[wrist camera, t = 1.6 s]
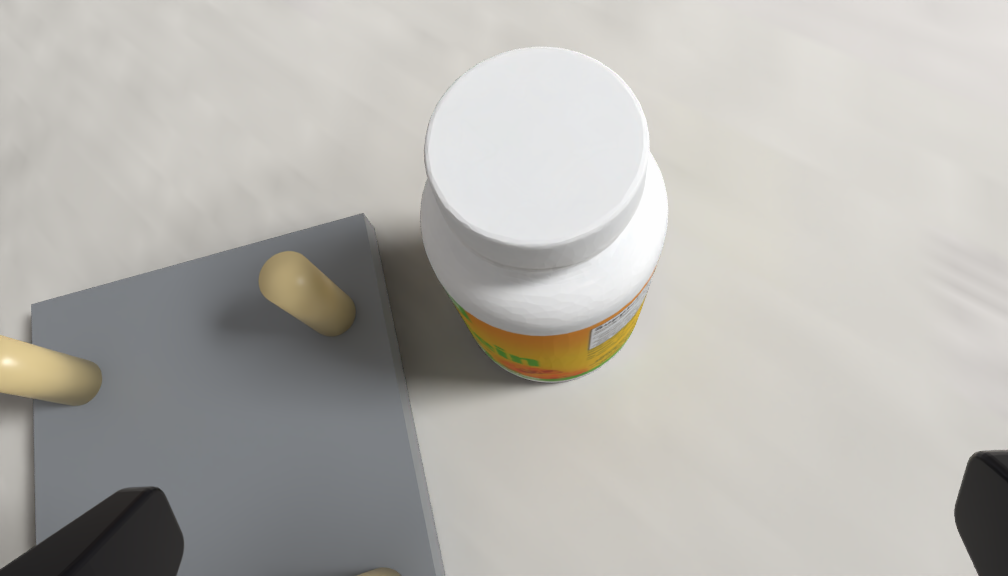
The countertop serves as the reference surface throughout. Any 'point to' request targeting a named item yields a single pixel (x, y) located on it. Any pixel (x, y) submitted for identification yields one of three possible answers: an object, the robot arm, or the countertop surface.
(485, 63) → the supplement bottle
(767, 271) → the countertop surface
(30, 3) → the countertop surface
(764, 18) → the countertop surface
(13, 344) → the plate
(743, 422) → the countertop surface
